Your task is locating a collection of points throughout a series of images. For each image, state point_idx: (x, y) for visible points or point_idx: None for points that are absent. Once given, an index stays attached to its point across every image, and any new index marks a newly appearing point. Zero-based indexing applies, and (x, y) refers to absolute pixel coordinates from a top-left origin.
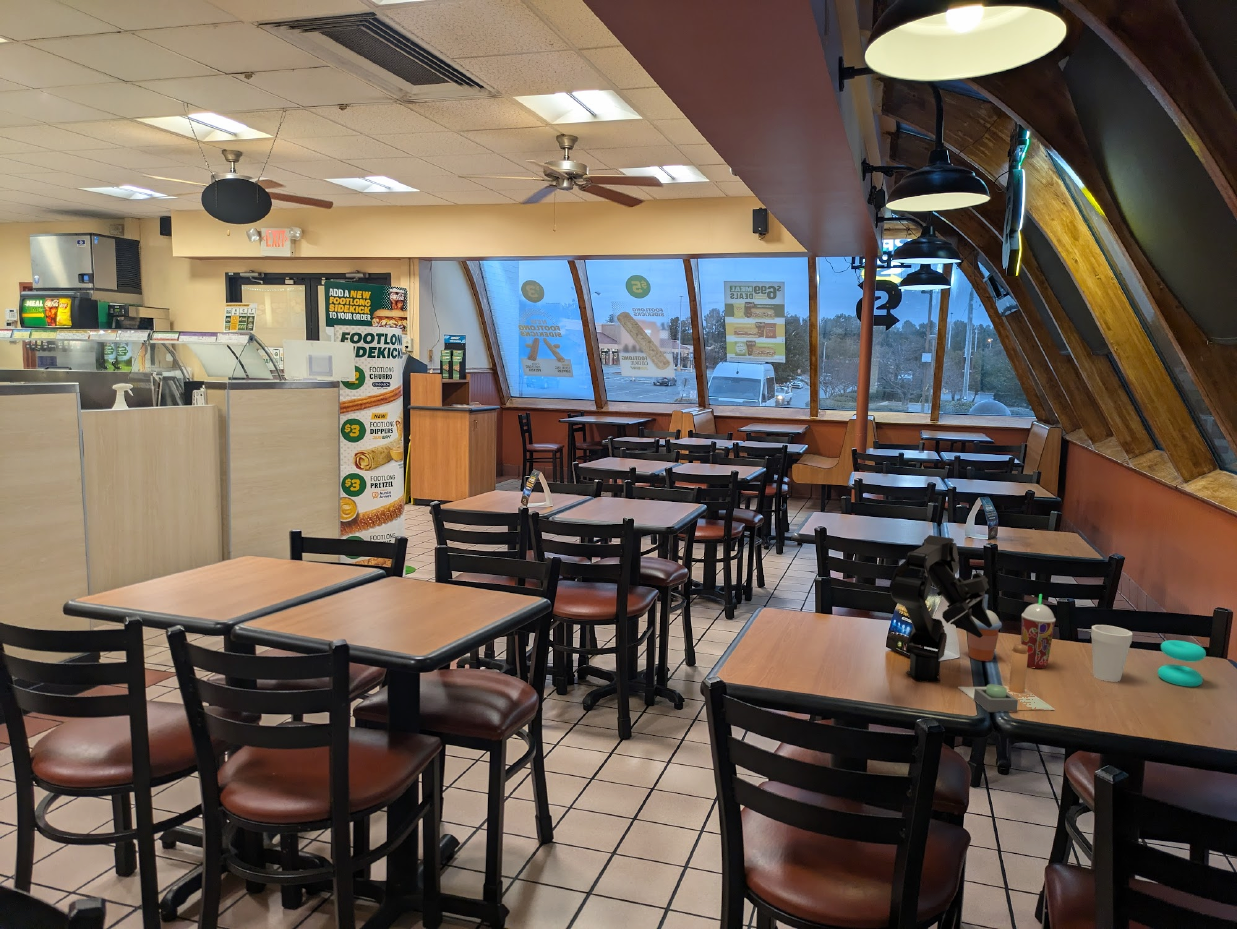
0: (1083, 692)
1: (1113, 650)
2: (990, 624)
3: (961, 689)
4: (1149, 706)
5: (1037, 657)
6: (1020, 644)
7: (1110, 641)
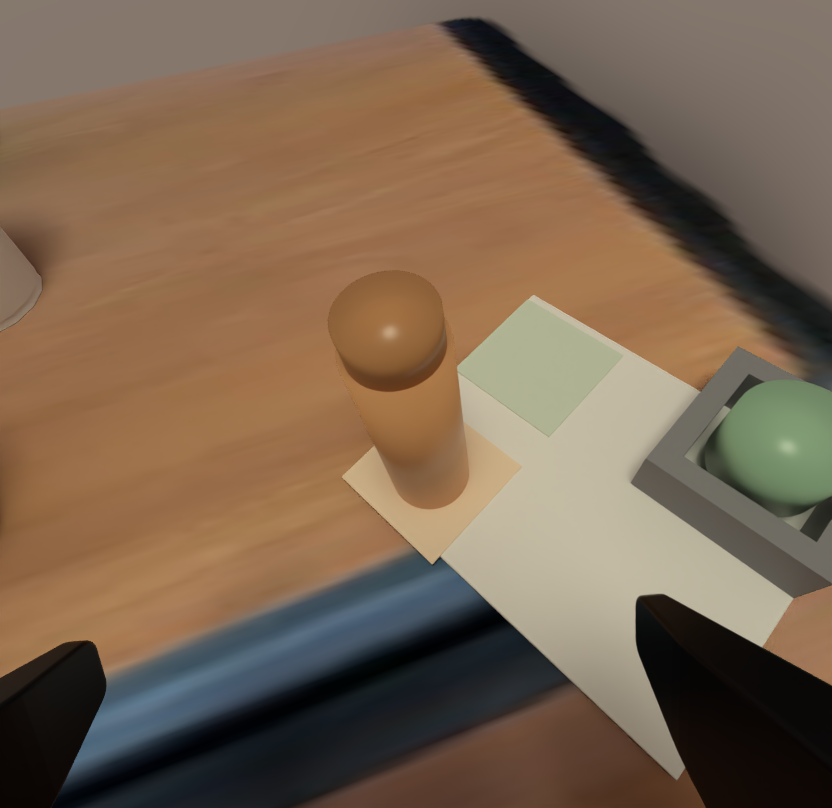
0: (225, 300)
1: None
2: (73, 665)
3: None
4: (236, 162)
5: None
6: (337, 329)
7: None
